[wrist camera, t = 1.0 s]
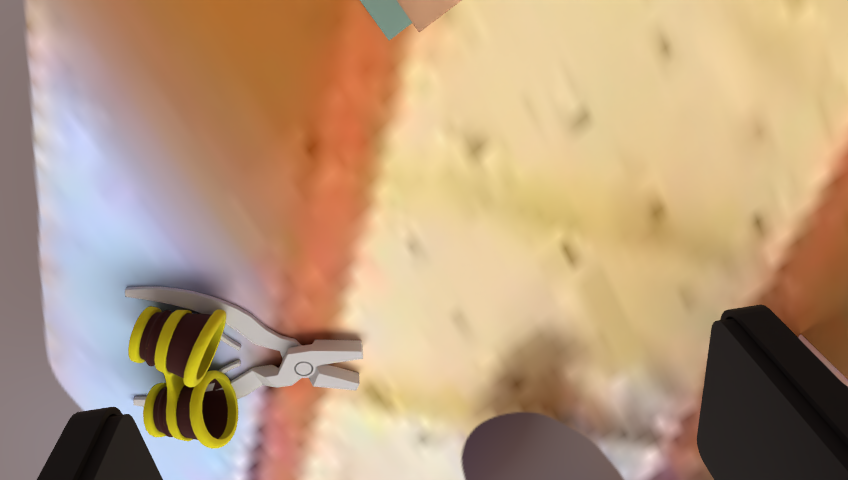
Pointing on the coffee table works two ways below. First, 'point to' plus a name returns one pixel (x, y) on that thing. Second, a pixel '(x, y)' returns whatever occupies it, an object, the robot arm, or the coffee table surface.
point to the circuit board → (387, 16)
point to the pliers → (295, 356)
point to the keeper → (425, 10)
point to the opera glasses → (185, 376)
